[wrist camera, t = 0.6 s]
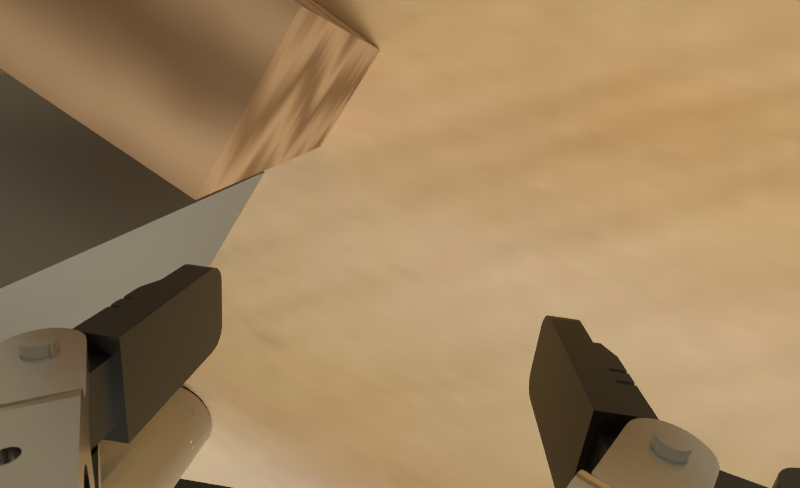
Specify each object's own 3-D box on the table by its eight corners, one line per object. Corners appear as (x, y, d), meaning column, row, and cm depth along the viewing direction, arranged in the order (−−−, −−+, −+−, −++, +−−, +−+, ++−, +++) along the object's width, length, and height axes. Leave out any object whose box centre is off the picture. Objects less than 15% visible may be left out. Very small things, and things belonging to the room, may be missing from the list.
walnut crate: (320, 146, 41) (195, 200, 21) (182, 49, 39) (-91, 7, 19) (379, 50, 38) (301, 5, 18) (233, -59, 36) (-29, -240, 16)
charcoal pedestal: (206, 270, 46) (-270, 621, 16) (81, 188, 44) (-711, 397, 14) (264, 172, 42) (-217, 384, 12) (129, 78, 40) (-813, 46, 10)
